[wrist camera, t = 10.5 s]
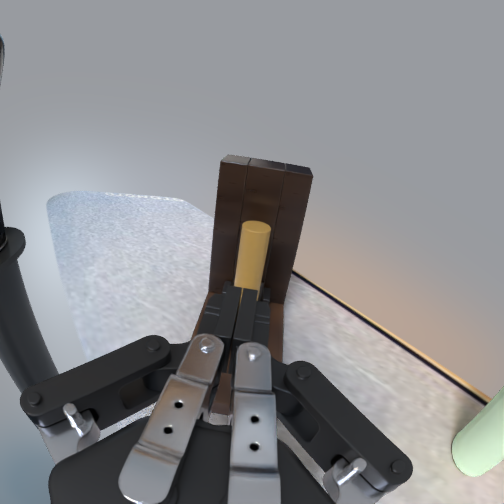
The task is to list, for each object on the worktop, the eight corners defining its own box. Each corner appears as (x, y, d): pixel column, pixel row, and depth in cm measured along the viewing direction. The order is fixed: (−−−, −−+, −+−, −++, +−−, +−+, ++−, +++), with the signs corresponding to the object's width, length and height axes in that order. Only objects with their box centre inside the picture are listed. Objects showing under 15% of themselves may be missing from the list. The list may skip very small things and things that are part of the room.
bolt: (253, 326, 23) (270, 234, 20) (228, 321, 23) (240, 229, 20) (258, 284, 29) (273, 205, 25) (238, 281, 29) (249, 201, 25)
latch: (275, 422, 18) (341, 242, 11) (173, 404, 18) (164, 213, 11) (281, 295, 31) (309, 166, 24) (214, 284, 31) (228, 153, 25)
